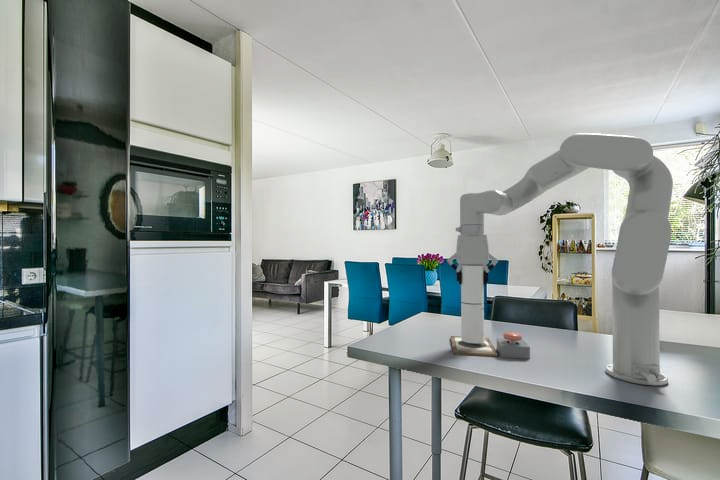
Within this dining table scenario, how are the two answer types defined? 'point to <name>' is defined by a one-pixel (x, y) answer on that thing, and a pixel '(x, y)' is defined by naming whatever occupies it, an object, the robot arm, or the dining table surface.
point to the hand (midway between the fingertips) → (472, 283)
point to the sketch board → (473, 347)
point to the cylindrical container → (472, 304)
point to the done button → (512, 337)
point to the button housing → (513, 349)
